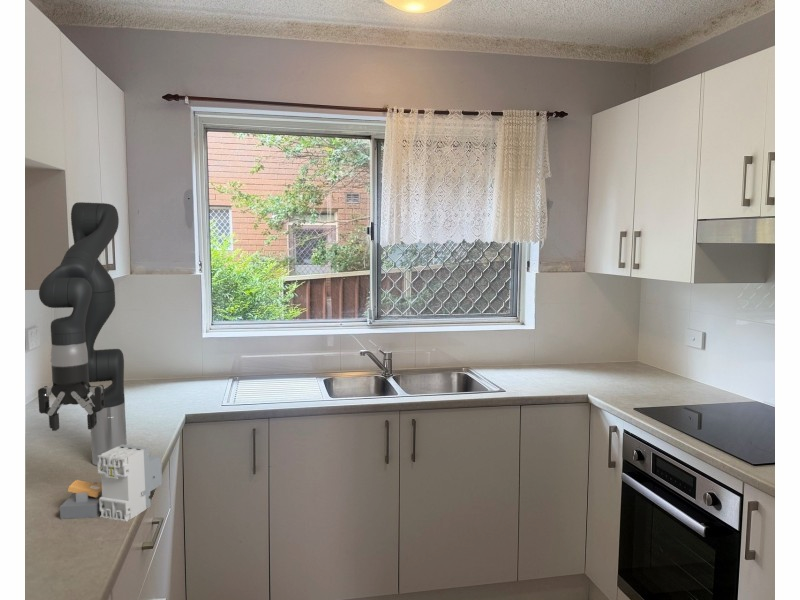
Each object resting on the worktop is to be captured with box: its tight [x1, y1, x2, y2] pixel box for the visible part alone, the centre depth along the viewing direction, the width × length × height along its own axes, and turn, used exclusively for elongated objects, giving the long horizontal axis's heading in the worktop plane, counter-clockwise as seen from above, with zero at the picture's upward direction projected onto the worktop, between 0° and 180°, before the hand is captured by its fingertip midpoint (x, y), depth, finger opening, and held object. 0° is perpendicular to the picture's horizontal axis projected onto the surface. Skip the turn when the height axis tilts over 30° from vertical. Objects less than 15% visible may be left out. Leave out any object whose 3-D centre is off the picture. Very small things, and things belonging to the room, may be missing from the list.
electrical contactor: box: [96, 444, 163, 523], centre depth 140 cm, size 8×14×15 cm, turn 164°
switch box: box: [59, 482, 104, 520], centre depth 139 cm, size 10×8×5 cm
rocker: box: [67, 479, 102, 497], centre depth 138 cm, size 4×7×2 cm, turn 97°
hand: (73, 429), depth 137 cm, fingers open, 7 cm apart
